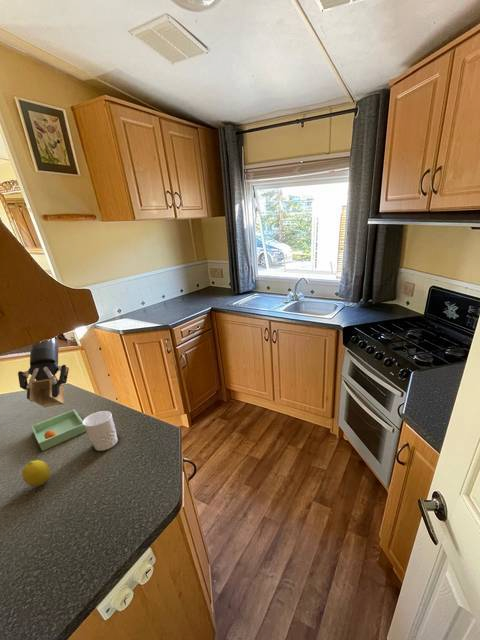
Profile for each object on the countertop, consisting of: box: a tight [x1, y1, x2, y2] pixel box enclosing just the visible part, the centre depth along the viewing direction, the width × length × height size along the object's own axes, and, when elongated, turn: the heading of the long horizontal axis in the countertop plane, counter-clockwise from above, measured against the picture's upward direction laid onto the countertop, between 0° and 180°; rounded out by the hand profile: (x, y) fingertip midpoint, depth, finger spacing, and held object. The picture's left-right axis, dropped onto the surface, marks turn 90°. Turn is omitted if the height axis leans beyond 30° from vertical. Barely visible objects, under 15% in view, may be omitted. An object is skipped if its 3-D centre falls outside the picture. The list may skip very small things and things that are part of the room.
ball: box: [44, 430, 56, 439], centre depth 95 cm, size 3×3×3 cm
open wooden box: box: [28, 379, 65, 408], centre depth 96 cm, size 6×6×9 cm
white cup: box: [82, 410, 119, 452], centre depth 91 cm, size 8×8×10 cm
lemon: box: [21, 459, 51, 487], centre depth 77 cm, size 6×6×8 cm
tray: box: [30, 409, 87, 452], centre depth 99 cm, size 13×13×3 cm
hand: (43, 398), depth 93 cm, fingers closed on open wooden box, 5 cm apart
